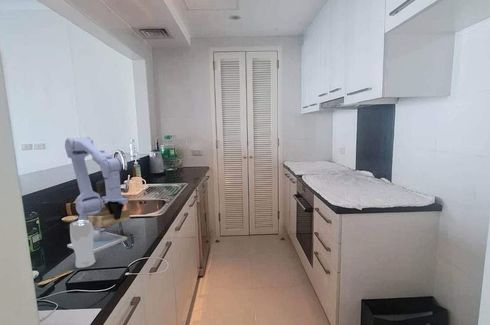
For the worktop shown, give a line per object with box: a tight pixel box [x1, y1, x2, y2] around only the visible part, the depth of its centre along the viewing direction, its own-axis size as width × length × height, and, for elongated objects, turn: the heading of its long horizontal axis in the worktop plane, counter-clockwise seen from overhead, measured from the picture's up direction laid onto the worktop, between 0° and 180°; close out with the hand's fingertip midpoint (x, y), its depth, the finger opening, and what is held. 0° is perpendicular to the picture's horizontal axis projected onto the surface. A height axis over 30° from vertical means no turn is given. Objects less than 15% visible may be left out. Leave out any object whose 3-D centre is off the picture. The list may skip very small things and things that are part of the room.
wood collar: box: [86, 209, 131, 228], centre depth 117 cm, size 12×12×4 cm
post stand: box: [66, 229, 128, 254], centre depth 112 cm, size 16×16×6 cm
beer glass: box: [69, 219, 96, 269], centre depth 93 cm, size 7×7×15 cm
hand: (116, 218), depth 115 cm, fingers closed on wood collar
